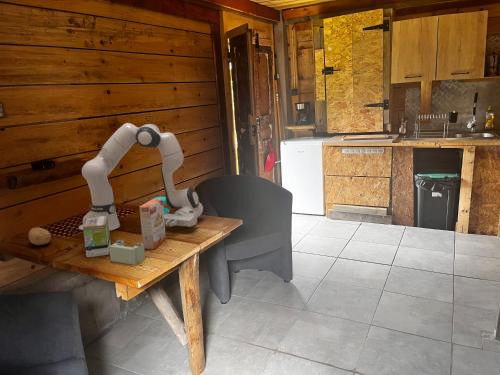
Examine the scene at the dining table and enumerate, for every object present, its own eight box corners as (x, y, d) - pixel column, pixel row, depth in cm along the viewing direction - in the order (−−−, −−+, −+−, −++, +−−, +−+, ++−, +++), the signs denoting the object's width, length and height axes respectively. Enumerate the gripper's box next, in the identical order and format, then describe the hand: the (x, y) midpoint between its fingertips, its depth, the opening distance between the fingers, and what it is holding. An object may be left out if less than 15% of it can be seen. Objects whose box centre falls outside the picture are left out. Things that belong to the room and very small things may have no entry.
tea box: (109, 254, 178) (105, 224, 175) (86, 258, 175) (81, 227, 172) (111, 243, 192) (107, 214, 189) (89, 246, 189) (85, 217, 186)
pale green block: (110, 261, 171) (108, 244, 169) (121, 254, 177) (119, 238, 175) (135, 265, 166) (133, 247, 164) (145, 258, 172) (143, 242, 170)
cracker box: (154, 249, 182) (150, 206, 177) (143, 249, 183) (138, 206, 178) (167, 239, 195) (163, 198, 190) (155, 238, 196) (151, 198, 191)
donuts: (171, 196, 237) (161, 201, 228) (172, 212, 239) (163, 217, 230) (158, 195, 241) (147, 199, 232) (159, 211, 243) (149, 215, 234)
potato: (36, 250, 187) (33, 235, 185) (25, 244, 196) (23, 229, 194) (57, 244, 194) (54, 229, 192) (46, 238, 203) (43, 223, 201)
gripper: (166, 209, 213) (150, 217, 201) (198, 212, 205) (184, 220, 193) (167, 220, 215) (151, 228, 202) (199, 224, 207) (185, 232, 194)
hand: (168, 224), depth 198 cm, fingers closed
